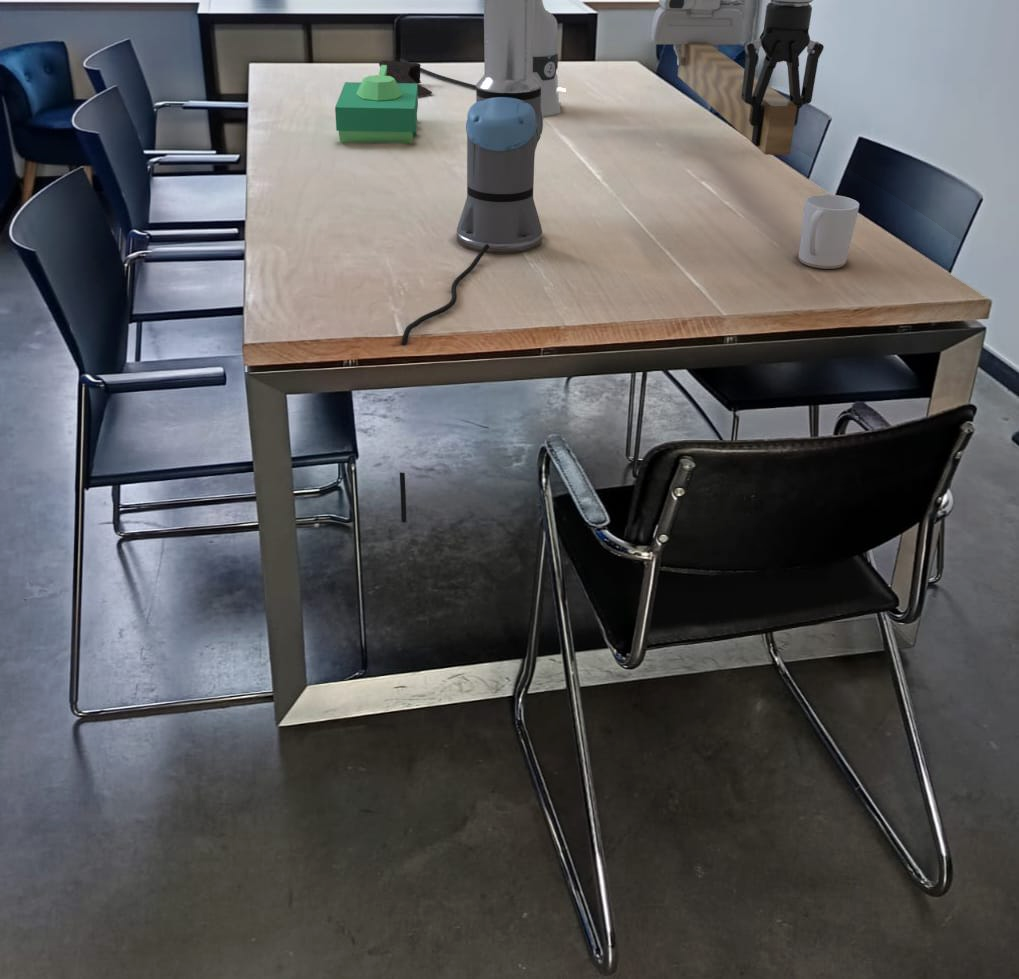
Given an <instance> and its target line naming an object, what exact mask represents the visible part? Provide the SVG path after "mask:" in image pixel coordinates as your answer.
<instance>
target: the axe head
mask: <svg viewBox="0 0 1019 979" xmlns="http://www.w3.org/2000/svg"><path fill="white" fill-rule="evenodd" d="M381 65H387V73H386V76H391V77H392V78H394V79H395V81H396V82H397V83H416V84H418V98H419V97H425V96H429V95H432V94H433V91H431V90H430V89H428V88H427V87H425V86H422V85H421V84H422V82H421V71H420V68H421V63H419V62H410V61H408V62H401V61H400V60H399V61H397V60H388V59H387V60H380V61H379V62H378V66H379V69H380V68H381Z"/></svg>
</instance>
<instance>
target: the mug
mask: <svg viewBox="0 0 1019 979" xmlns="http://www.w3.org/2000/svg"><path fill="white" fill-rule="evenodd" d="M859 209H860V203H859V201H857V200H855V199H853V198H850V197H847V196H843V195H837V194H829V193H828V194H827V193H825V194H823V193H822V194H821V193H819V194H813V195H809V196H806V197H805V198H804V205H803V214H802V221H801V222H802V223H801V232H800V240H799V241H800V242H799V249H798V261H799V262H801V263H802V264H804V265H806V266H808V267H812V268H816V269H825V270H828V269H829V270H831V269H833V270H834V269H839V268H842V267H844V266H845V265H846V263H847V259H848V255H849V251H850V247H851V242H852V239H853V234H854V231H855V225H856V221H857V218H858V213H859Z"/></svg>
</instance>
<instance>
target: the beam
mask: <svg viewBox="0 0 1019 979" xmlns="http://www.w3.org/2000/svg"><path fill="white" fill-rule="evenodd" d="M679 52H680V54H681V56H684V57H685V65H684V66H678V68H677V77H678V78H679V79H680V80H682V81H683V83H684V84H685V85H687V86H688V87H689V88H690V89H691V90H692V91H694V92H695V93H696V94H697V95H698V96H699V97H700V98H701V99H703V100H704V101H705V102H706V104H708V105H709V106H710V107H711V108H712V109H713V110H715V111H716V112H717V113H718V114H719V115H720V116H721V117H722V118H724V120H726V121H727V122H728V123H729V124H730V125H731V126H732V127H734V129H736V130H737V131H738V132H739V133H740V134H741V135H743V137H744V138H746V139H747V140H748V141H749V142H750V143H751V144H753V143H752V142H751V141H752V134H753V126H752V125H750V123H749V117H750V109H751V105H750V104H747V103H745V102H744V101H743V100H742V99H741V95H742V86H743V78H744V69H745V67H743V66H742V65H740V64H739V63H737V62H736V61H734V60H733V59H731V58H730V57H729V56H728V55H726V54H724V53H723V52H721V51H720V50H718V49H716V48H714V47H713V46H711V45H710V44H709V43H688V44H687V45H682V49H681V50H679ZM758 79H759V77H757V76H756V75H755V76H754V84H753V92H752V96H753V93H754V90H755V87H756V84H757V82H758ZM761 106H763V107H764V108H765V110H764V117H763V124H762V131H761V138H760V146H755V147H756V148H757V149H758V150H759V151H760V152H761V153H763V154H764V155H767V156H769V155H772V156H773V155H774V156H775V155H777V156H780V155H781V156H783V155H785V156H786V155H787V156H789V155H791V151H792V150H791V148H792V143H793V137H794V129H795V126H794V124H795V117H796V110H797V106H796V105H795V104H794V103H792V102H791V101H790V99H788V98H787V97H785V96H784V95H782V94H781V93H780V92H778V91H776V90H775V89H774V88H772V87H771V86H769V85H768V86H767V89H766V92H765V95H764V98H763V100H762V103H761Z"/></svg>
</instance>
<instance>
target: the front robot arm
mask: <svg viewBox="0 0 1019 979" xmlns="http://www.w3.org/2000/svg"><path fill="white" fill-rule="evenodd" d="M812 2H814V0H770V2H768V3H767V4H766V8H765V16H764V22H763V30H762V32H761V34H760V36H759V38H757V39H755V40H753V41H750V40H749V41H748V40H747V41H745V42H744V44H743V48H744V53H745V60H744V61H745V62H744V78H743V86H742V95H741V99H742V100H743V101H744V102H745V103H747V104H750V105H751V109H750V117H749V123H750V125H752V126H753V134H752V141H751V142H752V143H751V142H750V143H751V144H752V145H754V147H756V146H760V138H761V131H762V124H763V117H764V110H765V108H764V107H763V106H761V103H762V100H763V98H764V95H765V92H766V89H767V86H769V83H770V81H771V79H772V75H773V72H774V69H775V68H776V67H777V64H778V63H782V62H785V63H786V66H787V76H788V78H787V79H788V90H789V91H788V92H789V101H791V102H792V103H794V104H795V105H796V106H797V110H796V117H795V124H794V127H796V126H797V125H798V120H799V113H800V109H801V108H802V107H803V105H806V104H807V105H809V104H811V103H812V99H813V94H814V88H815V83H816V75H817V70H818V63H819V59H820V56H821V55H822V53H823V51H824V49H825V47H824V44H822V43H820V42H819V41H814V40H812V39H811V37H810V33H809V31H810V25H811V18H812V11H813V7H812V5H811V4H810V3H812ZM533 7H534V0H483V35H484V36H483V46H484V50H483V51H484V52H483V53H484V59H483V60H484V73H483V76H482V77H481V78H479V80H478V82H476V84H475V85H476V89H475V90H476V91H475V92H476V93H475V95H476V96H475V99H476V101H475V103H473V104H472V105H471V106H470V107H469V109H468V111H467V117H466V118H467V119H466V122H465V131H466V192H467V193H466V198H465V202H464V205H463V209H462V211H461V214H460V218H459V220H458V224H457V227H456V241H457V243H458V244H459V245H461V246H462V247H464V248H466V249H468V250H470V251H475V252H478V253H477V255H476V256H475V258H474V259H473V261H472V262H471V264H469V266H468V267H467V268H466V269H465V270H464V271H463V272H461V273H460V274H459V275H458V276H457V277H456V278H455V279H454V281H453V282H452V284H451V289H450V291H451V299H450V301H449V302H447V303H446V304H445V305H443V306H441V307H439V308H438V309H434V310H433V311H430V312H428V313H425V314H424V315H422V316H420V317H418V318H417V319H415V320H414V321H413V322H411V323H409V324H408V325H407V326H406V327H405V329H404V330H403V331H404V332H403V335H402V337H401V342H400V345H401V346H406V345H407V343H408V339H409V336H410V334H411V331H412V330H413V329H414V328H417V327H418V326H419V325H421V324H423V323H424V322H425V321H427V320H429V319H432V318H434V317H436V316H439V315H441V314H443V313H445V312H447V311H448V310H450V309H451V308H452V307H453V306H454V305H455V303H456V302H457V299H458V298H457V295H458V294H457V287H458V285H459V283H460V282H461V281H462V280H464V278H465V277H467V276H468V275H469V274H470V273H471V272H472V271H473V270H474V268H476V266H477V265H478V263H479V262H480V260H481V259H482V257H483V256H484V255H485V253H486V254H497V255H499V254H500V255H506V254H507V255H508V254H517V253H524V252H527V251H530V250H533V249H536V248H538V247H539V246H540V245H541V244H542V243H543V229H542V224H541V221H540V220H541V219H540V218H539V214H538V213H539V212H538V210H537V206H536V204H535V199H534V183H535V181H534V180H535V158H536V156H535V155H536V149H537V146H538V144H539V141H540V140H541V135H542V133H543V128H544V118H543V117H544V116H542V112H541V83H540V82H539V81H538V80H537V79H536V78H535V77H534V75H533ZM761 47H762V50H763V51H764V54H765V56H764V58H763V65H762V67H761V71H760V72H759V76H758V82H757V84H756V87H755V90H754V93H753V96H752V92H753V84H754V76H755V77H756V75H755V74H756V65H757V55H758V54H759V52H760V48H761ZM805 49H806V53H807V56H806V57H807V58H806V62H805V67H804V74H803V80H802V87H801V84H800V71H799V70H800V69H799V68H800V55H801V54H802V52H804V50H805ZM399 490H400V518H401V519H400V521H401V523H403V524H404V523H407V496H406V495H407V494H406V493H407V492H406V473H405V472H401V471H399Z"/></svg>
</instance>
